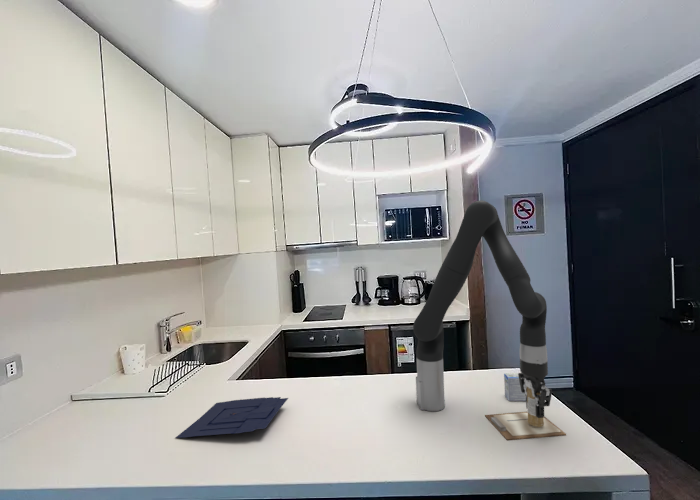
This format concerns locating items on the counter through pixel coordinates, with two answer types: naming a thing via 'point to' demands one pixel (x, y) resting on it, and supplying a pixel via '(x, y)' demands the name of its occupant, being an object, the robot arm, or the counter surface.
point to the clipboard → (522, 426)
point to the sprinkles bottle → (532, 408)
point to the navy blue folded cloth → (235, 417)
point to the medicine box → (513, 387)
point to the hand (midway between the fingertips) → (535, 412)
